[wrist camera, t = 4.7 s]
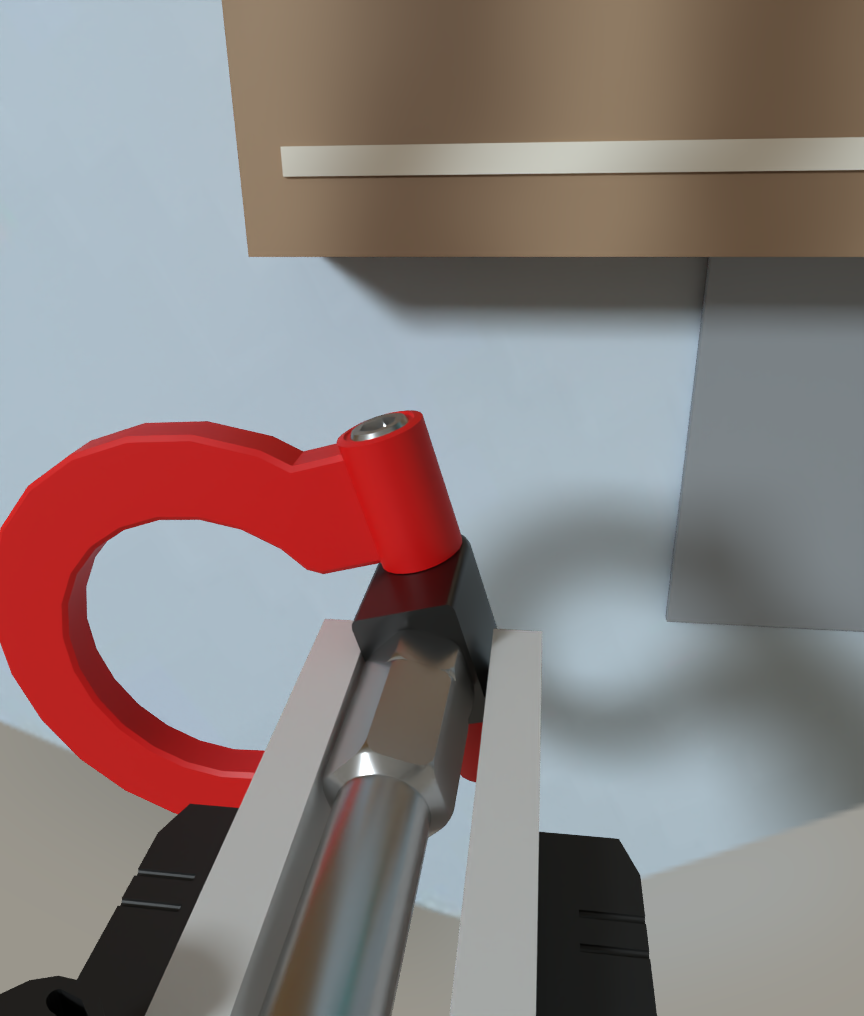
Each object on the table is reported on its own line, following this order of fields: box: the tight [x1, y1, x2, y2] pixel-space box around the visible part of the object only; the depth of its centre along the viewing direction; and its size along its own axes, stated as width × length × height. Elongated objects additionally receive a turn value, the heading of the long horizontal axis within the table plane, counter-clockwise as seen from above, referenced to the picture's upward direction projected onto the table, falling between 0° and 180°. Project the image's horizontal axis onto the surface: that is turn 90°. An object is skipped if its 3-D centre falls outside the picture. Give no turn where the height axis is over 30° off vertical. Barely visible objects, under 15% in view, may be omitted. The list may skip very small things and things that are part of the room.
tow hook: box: [0, 411, 497, 1016], centre depth 10 cm, size 8×13×9 cm
